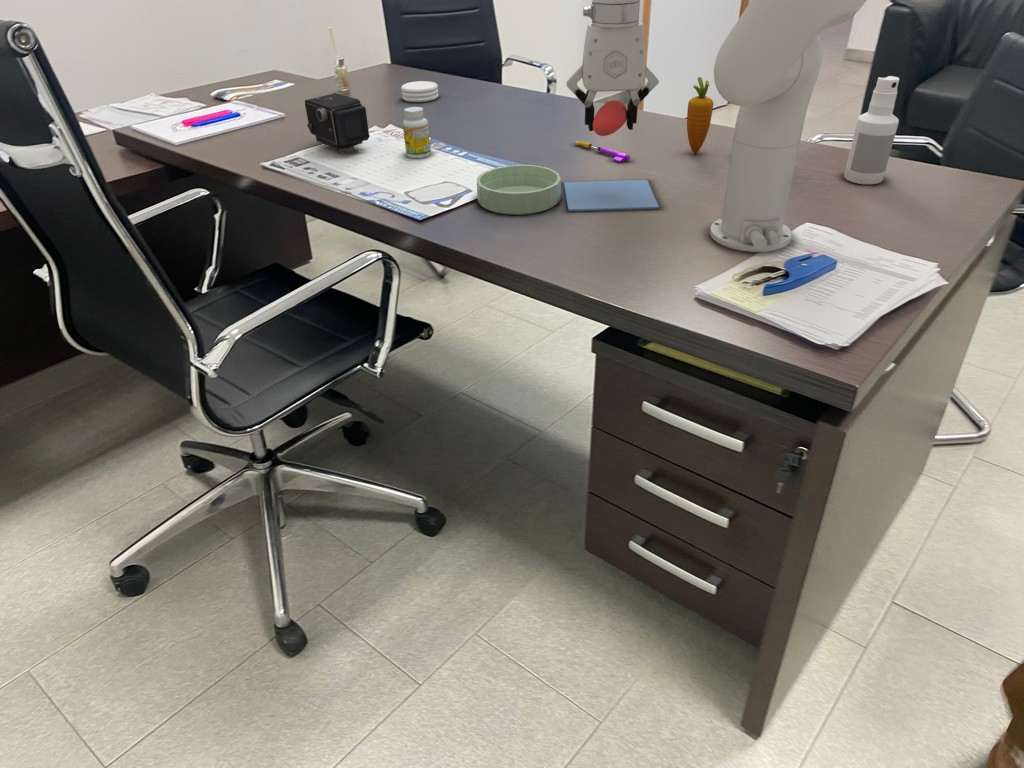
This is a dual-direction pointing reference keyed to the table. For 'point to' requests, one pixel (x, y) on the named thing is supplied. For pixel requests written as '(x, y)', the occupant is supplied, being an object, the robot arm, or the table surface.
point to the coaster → (419, 91)
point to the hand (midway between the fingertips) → (610, 127)
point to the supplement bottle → (416, 133)
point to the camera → (337, 121)
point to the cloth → (609, 195)
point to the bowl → (518, 189)
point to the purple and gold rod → (606, 151)
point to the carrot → (699, 116)
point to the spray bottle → (874, 135)
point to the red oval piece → (610, 118)
